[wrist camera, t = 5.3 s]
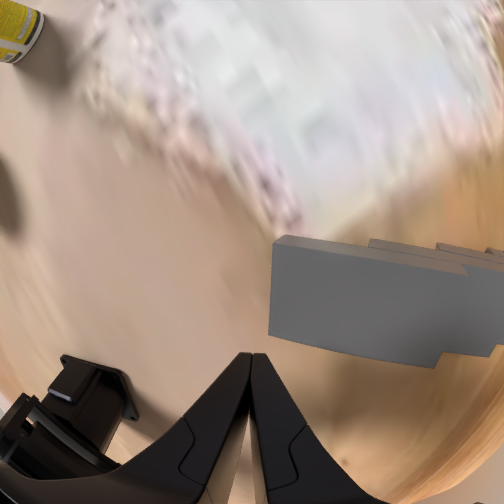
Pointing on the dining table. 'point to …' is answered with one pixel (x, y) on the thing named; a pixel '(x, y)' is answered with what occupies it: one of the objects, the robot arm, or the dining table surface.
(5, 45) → the supplement bottle
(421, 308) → the domino
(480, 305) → the domino
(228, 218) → the dining table surface
